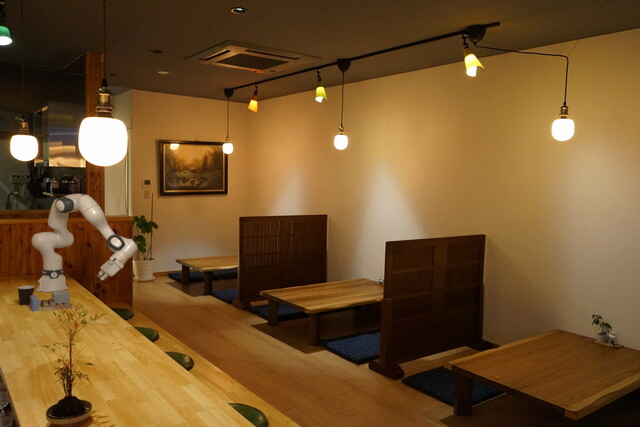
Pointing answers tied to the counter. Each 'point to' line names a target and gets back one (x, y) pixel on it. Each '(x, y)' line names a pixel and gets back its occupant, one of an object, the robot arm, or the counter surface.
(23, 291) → the coffee mug
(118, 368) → the counter surface
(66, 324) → the counter surface
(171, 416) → the counter surface
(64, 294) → the slab
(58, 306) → the roller bed
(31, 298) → the stop block
